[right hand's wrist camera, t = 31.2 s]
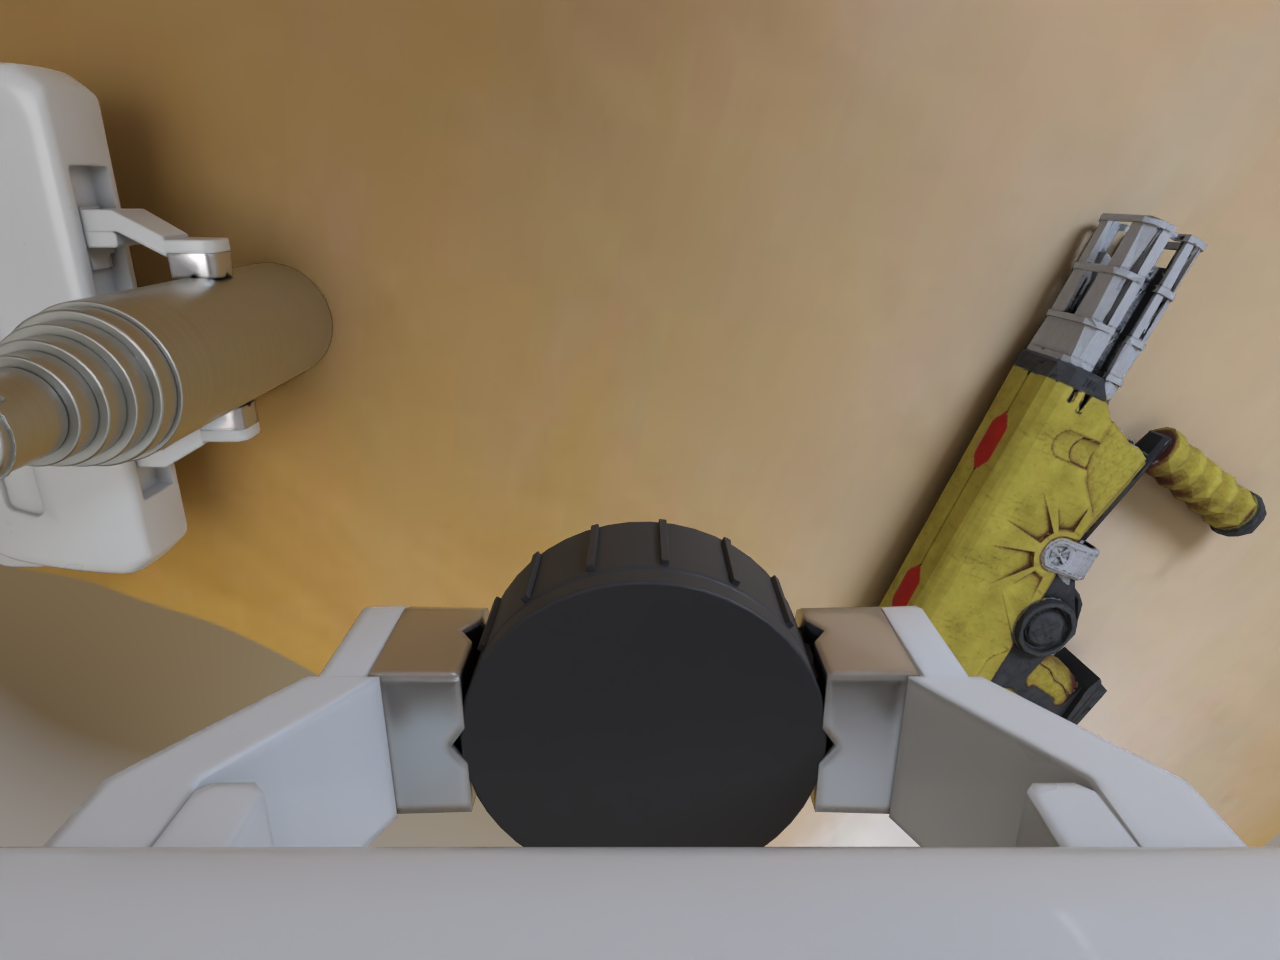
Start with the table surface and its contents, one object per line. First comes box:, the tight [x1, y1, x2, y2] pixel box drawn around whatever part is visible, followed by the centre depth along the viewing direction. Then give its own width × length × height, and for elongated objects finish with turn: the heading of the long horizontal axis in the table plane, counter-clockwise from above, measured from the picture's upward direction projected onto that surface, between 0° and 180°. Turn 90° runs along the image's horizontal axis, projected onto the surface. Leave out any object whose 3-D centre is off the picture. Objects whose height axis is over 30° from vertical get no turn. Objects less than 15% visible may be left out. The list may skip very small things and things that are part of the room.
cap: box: [460, 519, 827, 847], centre depth 9 cm, size 4×4×2 cm
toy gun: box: [879, 213, 1267, 725], centre depth 39 cm, size 5×24×15 cm
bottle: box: [0, 263, 332, 481], centre depth 29 cm, size 5×5×19 cm
